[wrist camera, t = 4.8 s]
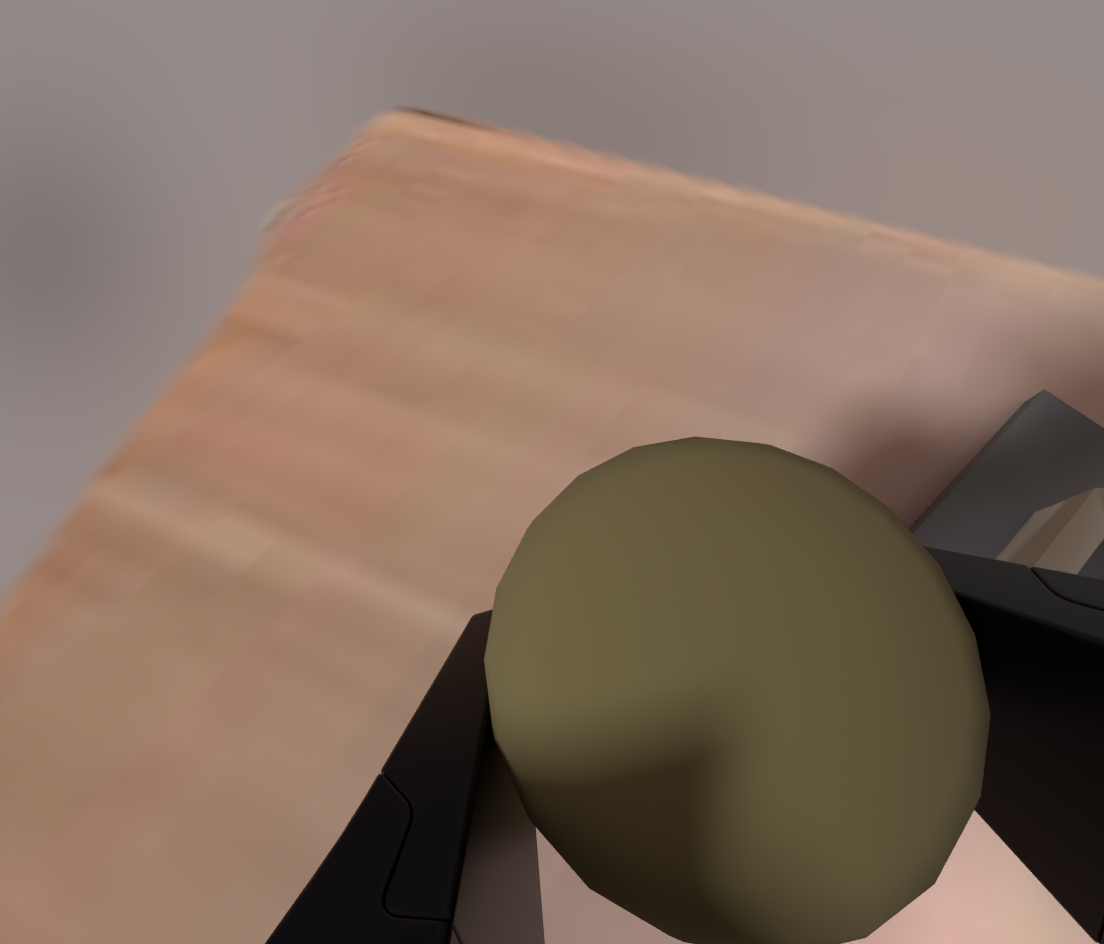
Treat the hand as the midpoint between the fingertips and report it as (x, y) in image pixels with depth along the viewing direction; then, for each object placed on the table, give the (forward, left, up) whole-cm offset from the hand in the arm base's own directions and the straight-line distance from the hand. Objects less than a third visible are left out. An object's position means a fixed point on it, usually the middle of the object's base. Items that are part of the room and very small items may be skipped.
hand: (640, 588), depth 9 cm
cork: (-1, +1, -7) cm, 7 cm away
